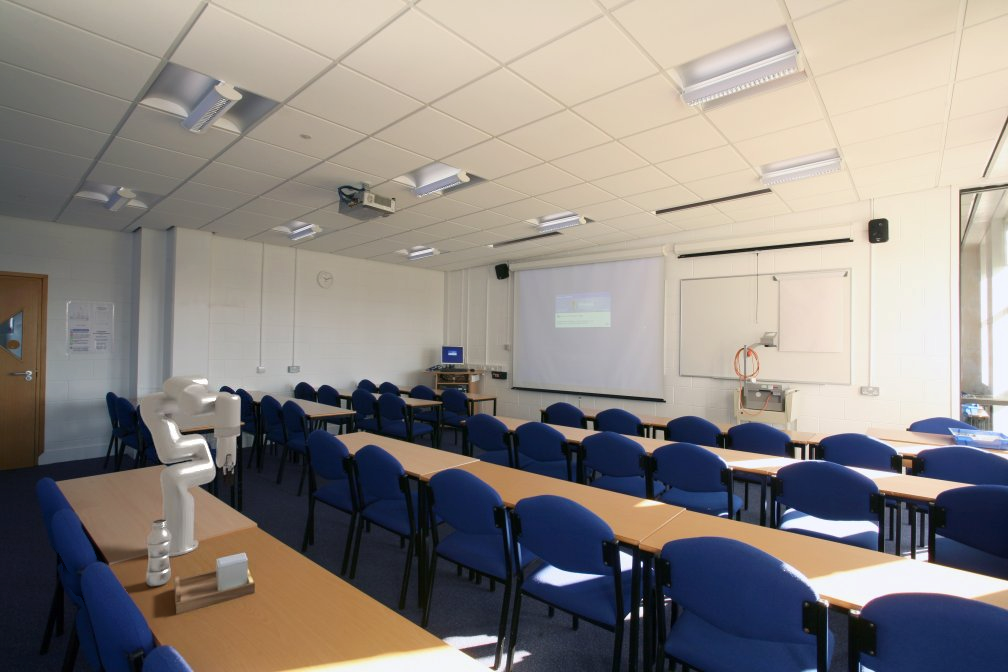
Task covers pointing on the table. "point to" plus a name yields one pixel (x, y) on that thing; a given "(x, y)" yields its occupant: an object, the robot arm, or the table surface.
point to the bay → (206, 591)
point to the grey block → (231, 571)
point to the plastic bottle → (158, 554)
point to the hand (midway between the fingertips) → (226, 482)
